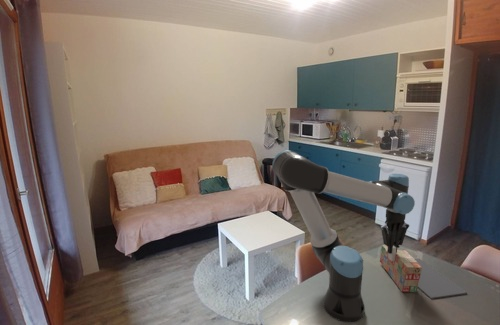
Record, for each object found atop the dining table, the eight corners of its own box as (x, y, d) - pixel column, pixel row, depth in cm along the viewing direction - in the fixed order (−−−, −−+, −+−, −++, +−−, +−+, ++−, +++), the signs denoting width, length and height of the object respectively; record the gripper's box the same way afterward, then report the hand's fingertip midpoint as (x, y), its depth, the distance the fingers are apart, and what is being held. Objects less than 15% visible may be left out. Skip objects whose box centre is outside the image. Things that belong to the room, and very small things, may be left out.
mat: (430, 299, 110) (431, 297, 110) (388, 263, 135) (388, 262, 135) (466, 293, 113) (467, 292, 113) (419, 259, 138) (419, 258, 138)
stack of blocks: (379, 261, 135) (382, 239, 132) (391, 261, 135) (395, 239, 132) (402, 292, 114) (407, 266, 111) (417, 292, 114) (422, 267, 111)
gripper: (387, 214, 112) (383, 265, 117) (416, 211, 114) (410, 262, 119) (376, 207, 119) (373, 256, 124) (403, 205, 121) (398, 253, 126)
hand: (391, 259), depth 121 cm, fingers closed
